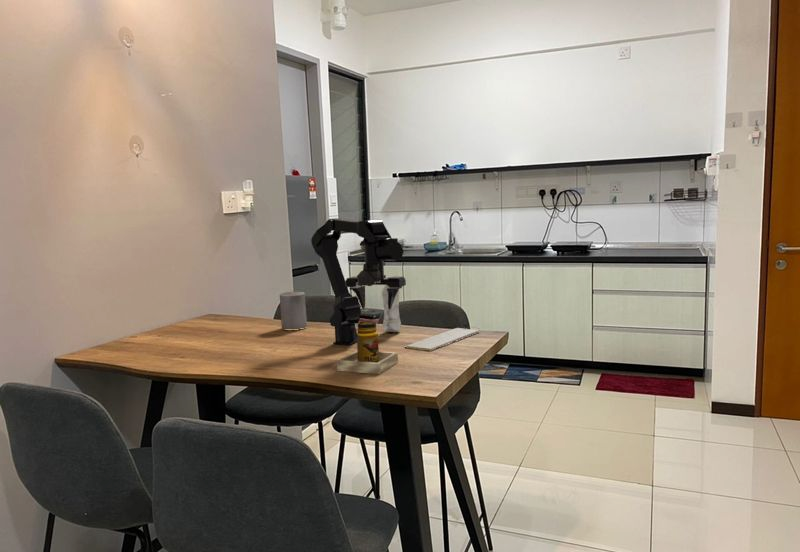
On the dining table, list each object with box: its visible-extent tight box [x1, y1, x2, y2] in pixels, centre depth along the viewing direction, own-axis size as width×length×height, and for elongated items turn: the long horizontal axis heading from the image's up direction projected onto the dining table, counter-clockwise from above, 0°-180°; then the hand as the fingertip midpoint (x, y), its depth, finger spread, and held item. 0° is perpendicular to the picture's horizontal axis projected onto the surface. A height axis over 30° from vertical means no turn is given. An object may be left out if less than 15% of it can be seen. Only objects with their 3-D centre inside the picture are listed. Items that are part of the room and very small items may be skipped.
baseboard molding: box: [404, 324, 480, 352], centre depth 200 cm, size 31×3×12 cm
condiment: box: [355, 321, 380, 363], centre depth 168 cm, size 7×8×12 cm
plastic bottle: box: [381, 276, 402, 333], centre depth 214 cm, size 6×7×20 cm
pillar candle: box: [279, 290, 308, 330], centre depth 229 cm, size 10×10×15 cm
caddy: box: [336, 350, 399, 375], centre depth 169 cm, size 13×13×3 cm
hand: (376, 308), depth 188 cm, fingers open, 9 cm apart
